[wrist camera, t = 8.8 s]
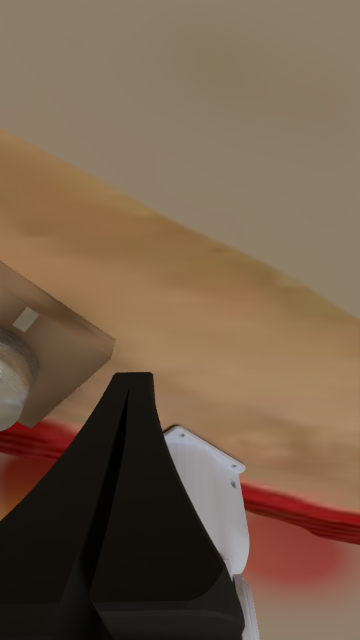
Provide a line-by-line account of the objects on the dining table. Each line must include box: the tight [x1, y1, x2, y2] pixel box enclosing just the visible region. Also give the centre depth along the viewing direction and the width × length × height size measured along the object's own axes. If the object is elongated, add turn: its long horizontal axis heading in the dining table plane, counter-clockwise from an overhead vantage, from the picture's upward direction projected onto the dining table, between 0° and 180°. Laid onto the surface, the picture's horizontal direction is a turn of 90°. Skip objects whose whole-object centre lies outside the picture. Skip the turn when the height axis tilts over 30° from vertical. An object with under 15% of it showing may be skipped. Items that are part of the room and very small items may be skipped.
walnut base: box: [0, 261, 115, 429], centre depth 21 cm, size 11×10×2 cm
